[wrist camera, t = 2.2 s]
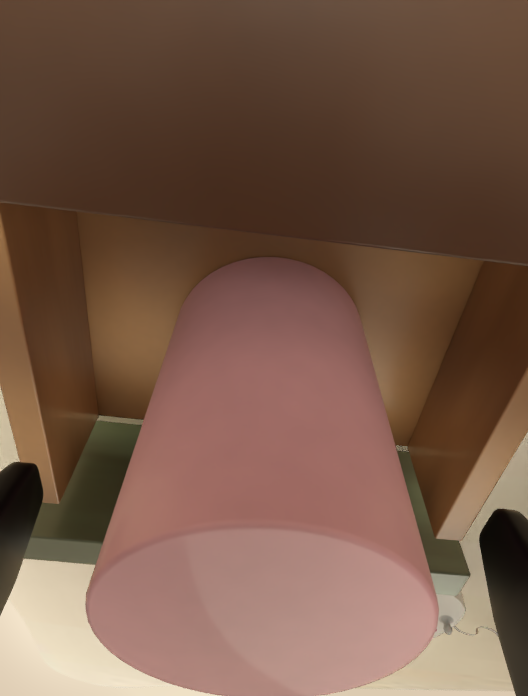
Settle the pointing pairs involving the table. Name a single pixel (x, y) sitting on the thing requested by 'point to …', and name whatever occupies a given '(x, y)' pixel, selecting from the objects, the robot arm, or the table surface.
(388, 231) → the cabinet
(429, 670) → the table surface
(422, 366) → the drawer
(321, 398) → the pink cylinder
